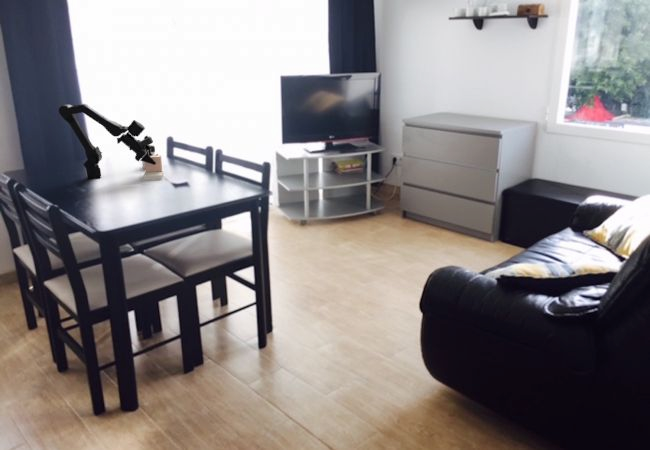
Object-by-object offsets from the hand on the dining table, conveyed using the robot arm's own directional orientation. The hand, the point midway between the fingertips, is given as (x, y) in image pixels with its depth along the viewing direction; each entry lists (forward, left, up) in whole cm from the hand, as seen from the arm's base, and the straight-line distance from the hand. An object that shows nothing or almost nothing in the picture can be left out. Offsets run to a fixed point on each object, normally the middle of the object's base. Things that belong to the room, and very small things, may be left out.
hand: (156, 163), depth 296 cm
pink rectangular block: (-1, 0, -6) cm, 6 cm away
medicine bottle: (+2, +23, -7) cm, 24 cm away
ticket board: (-3, -6, -7) cm, 9 cm away
